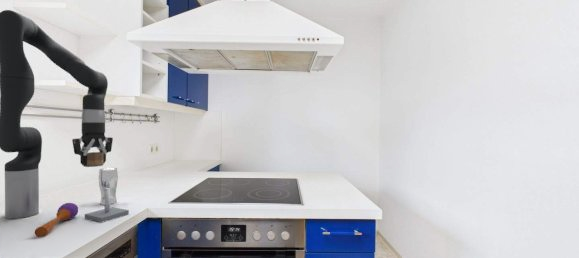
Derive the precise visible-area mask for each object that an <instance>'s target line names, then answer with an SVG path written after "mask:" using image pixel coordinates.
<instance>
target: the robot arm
mask: <svg viewBox="0 0 579 258" xmlns="http://www.w3.org/2000/svg"><path fill="white" fill-rule="evenodd" d="M24 43H27V44H28V45H30V46H31V47H34V48H36V49H38V51H40V52H42V54H44V55H45V56H46V57H47V58H48V59H49V60H50V61H51V62H52V63H54V65H56V66H57V67H59V68H60V69H62V70H63V71H65V72H66V73H68V74H70V76H71V77H72V78H73V79H75V81H77V83H79V84H80V85H82V86H83V87H86V88H88V89H87V94H84V95H83V96H82V110H81V111H82V112H81V137H79V138H72V139H71V142H72V148H73V152H74V153H73V154H74V155H78V156H80V163H79V164H81V166H83V167H84V166H86V165H87V156H86V155H87V153H89V151H90V150H91V149H92V148H96V149H98V151H99V152H103V153H104V164H105V162H106V161H107V154H108V153H111V152H112V147H113V141H114V140H113V139H114V138H113V137H112V136H111V137H109V136H105V135H106V114H105V112H106V111H105V98H106V96H107V95H106V94H107V91H108V85H109V84H108V83H109V82H108V78H107V76H106V75H105V74H104V73H102V72H100V71H98V70H95V69H93V68H91V67H90V66H89V65H87V64H86V63H85V61H84V60H82V58H80V57H78V56H77V55H76V54H74V53H73V52H71V51H70V50H68V49H67V48H66V47H64V46H63V45H61V44H60V43H59V42H57V41H55V40H54V39H53V38H52V37H50V36H49V35H48V34H47V32H45V31H44V30H43V29H42V28H41V27H40V26H39V25H38V24H37V23H36V22H35V21H33V20H32V19H30V18H29V17H27V16H25V15H23V14H21V13H19V12H17V11H14V10H11V9H5V10H1V11H0V150H1V151H3V152H5V153H17V155H16V156H15V158H13V159H11V160H9V161H7V162H5V164H4V217H5V218H4V219H9V220H10V219H11V220H12V219H23V218H26V217H27V218H28V217H31V216H34V215H37V214H39V213H40V195H39V194H40V191H39V190H40V189H39V185H40V184H39V181H40V180H39V177H40V176H39V175H40V173H39V168H40V167H39V164H40V162H41V160H42V149H43V147H42V145H43V138H42V134H41V132H40V131H39V130H38V129H37V128H36V127H33V126H21V119H22V118H21V117H22V114H23V113H24V112H23V111H24V109H25V108H26V106H27V105H28V104H29V102H30V101H31V100H32V98H33V97H34V94H35V75H34V71H33V69H32V67H31V64H30V63H29V61H28V59H27V57H26V54H25V51H24ZM104 142H105V143H104ZM81 144H82V146H81Z"/></svg>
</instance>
